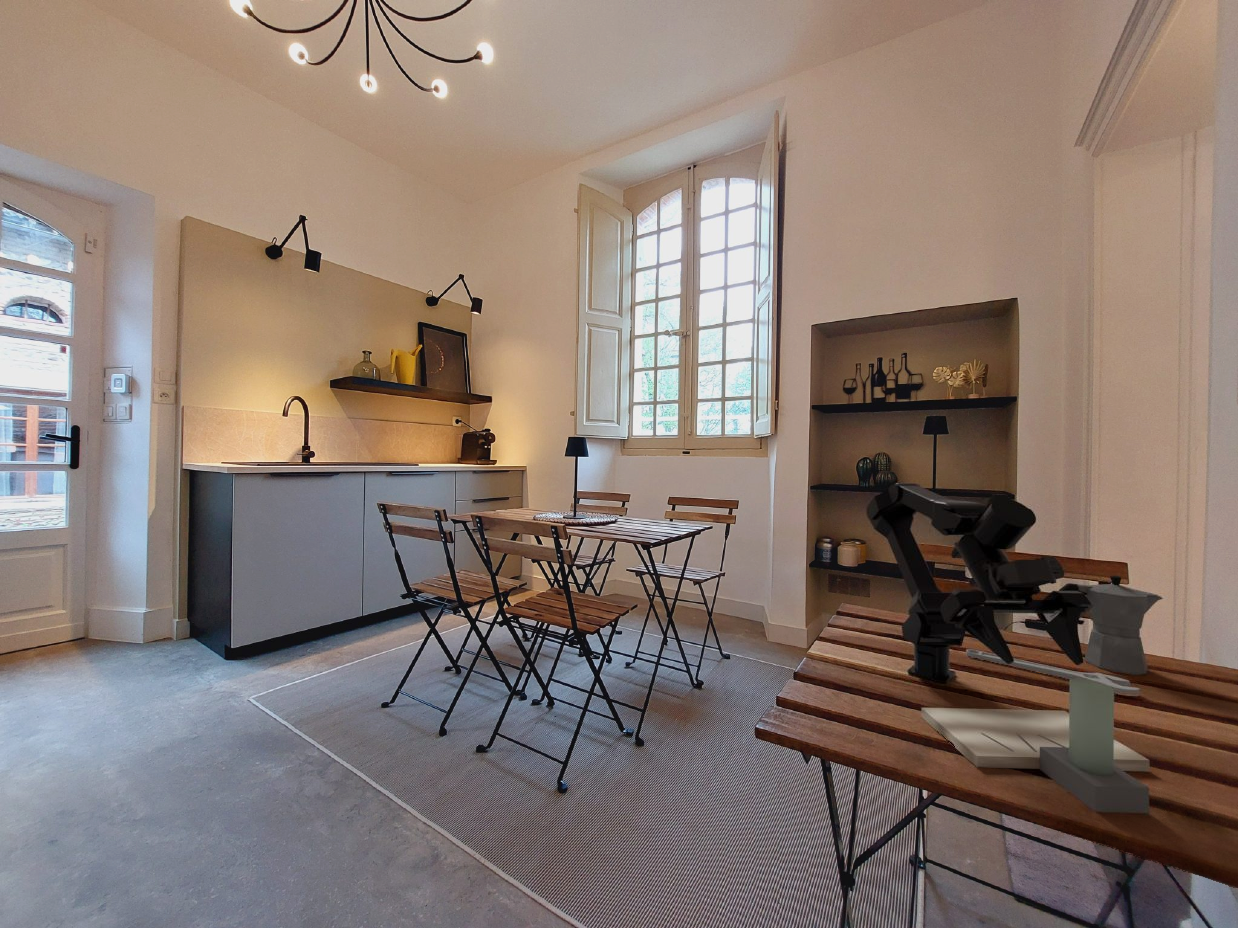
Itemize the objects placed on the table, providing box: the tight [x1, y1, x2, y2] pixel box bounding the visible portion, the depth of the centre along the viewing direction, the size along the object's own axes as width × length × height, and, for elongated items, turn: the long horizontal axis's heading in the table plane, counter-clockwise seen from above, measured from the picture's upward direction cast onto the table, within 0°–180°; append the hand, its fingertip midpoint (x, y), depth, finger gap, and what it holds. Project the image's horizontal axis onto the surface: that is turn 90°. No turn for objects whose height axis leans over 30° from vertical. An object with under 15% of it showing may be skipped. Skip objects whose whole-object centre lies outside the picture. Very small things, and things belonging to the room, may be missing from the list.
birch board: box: [920, 707, 1150, 773], centre depth 72 cm, size 13×22×2 cm, turn 88°
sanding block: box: [1039, 678, 1150, 814], centre depth 62 cm, size 6×8×13 cm
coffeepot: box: [1058, 575, 1163, 676], centre depth 100 cm, size 15×9×18 cm, turn 62°
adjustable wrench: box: [965, 648, 1141, 695], centre depth 97 cm, size 25×6×2 cm, turn 41°
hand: (1045, 663), depth 69 cm, fingers open, 9 cm apart
